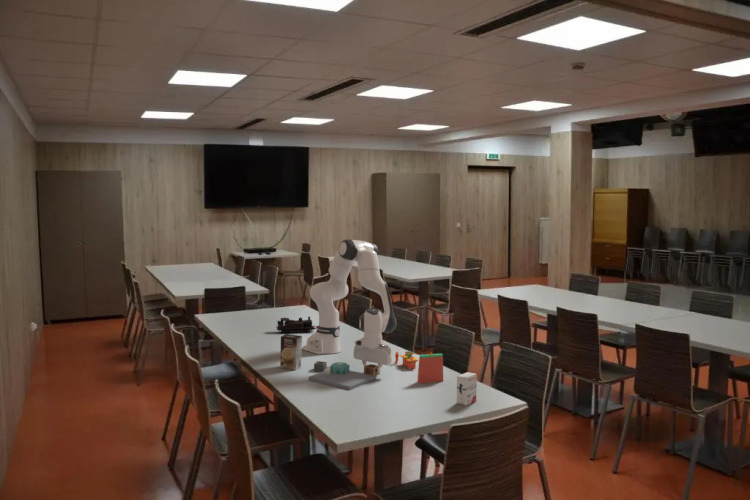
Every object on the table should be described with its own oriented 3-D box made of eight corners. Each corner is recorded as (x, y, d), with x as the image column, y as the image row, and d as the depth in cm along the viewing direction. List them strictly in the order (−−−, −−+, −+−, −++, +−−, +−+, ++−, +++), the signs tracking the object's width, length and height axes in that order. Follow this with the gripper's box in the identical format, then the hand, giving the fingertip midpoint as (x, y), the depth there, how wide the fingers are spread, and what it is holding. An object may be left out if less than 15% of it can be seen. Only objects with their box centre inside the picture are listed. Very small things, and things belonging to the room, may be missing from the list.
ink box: (466, 398, 252) (467, 371, 251) (476, 401, 249) (477, 373, 248) (455, 403, 246) (456, 375, 245) (465, 406, 243) (467, 377, 242)
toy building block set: (419, 383, 272) (419, 353, 271) (391, 363, 305) (392, 336, 304) (443, 381, 276) (444, 351, 275) (414, 362, 309) (414, 335, 308)
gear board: (308, 379, 273) (308, 368, 273) (335, 370, 290) (335, 359, 289) (350, 389, 260) (350, 377, 259) (375, 379, 277) (375, 367, 276)
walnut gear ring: (362, 374, 283) (363, 366, 283) (371, 371, 289) (371, 363, 289) (372, 376, 280) (372, 368, 280) (380, 373, 286) (381, 365, 286)
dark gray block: (314, 370, 288) (314, 363, 288) (317, 368, 293) (317, 361, 292) (323, 371, 287) (323, 364, 286) (326, 369, 291) (326, 362, 291)
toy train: (316, 333, 371) (316, 317, 370) (276, 334, 365) (276, 318, 365) (314, 330, 379) (315, 315, 378) (275, 331, 373) (276, 316, 372)
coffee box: (279, 368, 291) (279, 336, 290) (285, 365, 297) (285, 333, 296) (296, 370, 288) (296, 338, 287) (301, 367, 294) (302, 335, 293)
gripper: (394, 344, 280) (393, 373, 282) (359, 338, 292) (358, 365, 293) (387, 347, 275) (386, 376, 276) (352, 340, 286) (351, 368, 288)
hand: (372, 370), depth 285 cm, fingers closed on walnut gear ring, 6 cm apart
